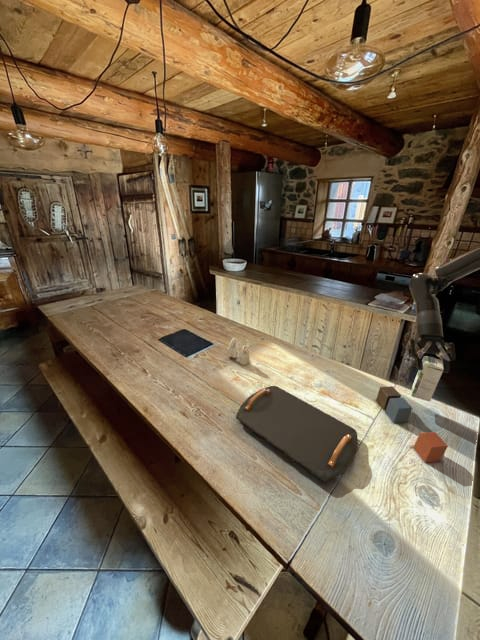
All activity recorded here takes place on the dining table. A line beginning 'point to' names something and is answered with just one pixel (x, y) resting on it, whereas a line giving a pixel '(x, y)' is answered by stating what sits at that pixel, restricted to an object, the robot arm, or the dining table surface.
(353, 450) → the serving tray
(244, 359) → the shaker set
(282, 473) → the dining table surface
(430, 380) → the syrup box
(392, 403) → the slate blue block
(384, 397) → the walnut block
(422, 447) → the terracotta block
